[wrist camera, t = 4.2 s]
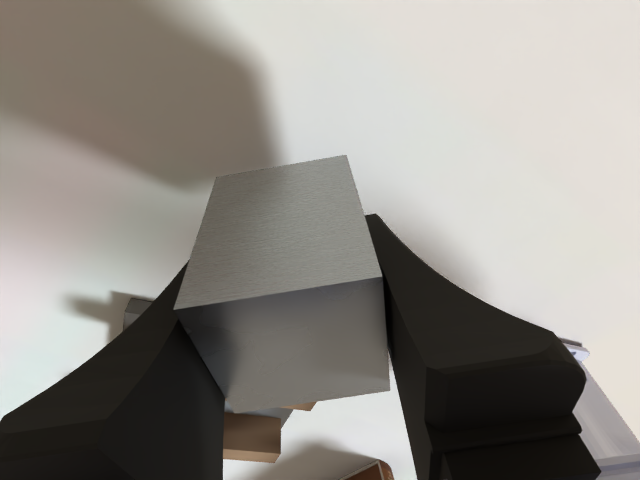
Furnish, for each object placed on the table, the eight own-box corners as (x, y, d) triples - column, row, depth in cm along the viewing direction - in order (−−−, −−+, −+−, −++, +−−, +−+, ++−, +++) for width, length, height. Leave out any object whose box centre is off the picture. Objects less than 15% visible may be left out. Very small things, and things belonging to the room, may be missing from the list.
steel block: (346, 154, 12) (382, 276, 8) (358, 255, 15) (390, 390, 10) (216, 177, 13) (173, 309, 8) (251, 272, 15) (235, 413, 11)
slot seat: (330, 335, 24) (336, 385, 21) (275, 424, 30) (274, 471, 28) (131, 298, 20) (106, 351, 18) (118, 407, 27) (99, 459, 24)
